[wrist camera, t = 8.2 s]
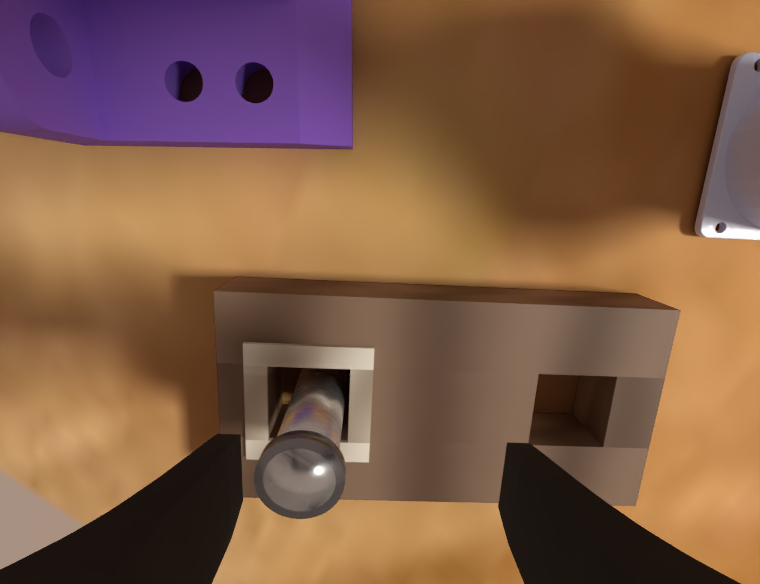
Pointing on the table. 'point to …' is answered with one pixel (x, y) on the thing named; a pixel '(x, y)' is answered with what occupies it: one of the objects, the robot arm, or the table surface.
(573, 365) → the board
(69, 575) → the robot arm
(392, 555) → the table surface
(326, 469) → the pin
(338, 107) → the bracket
